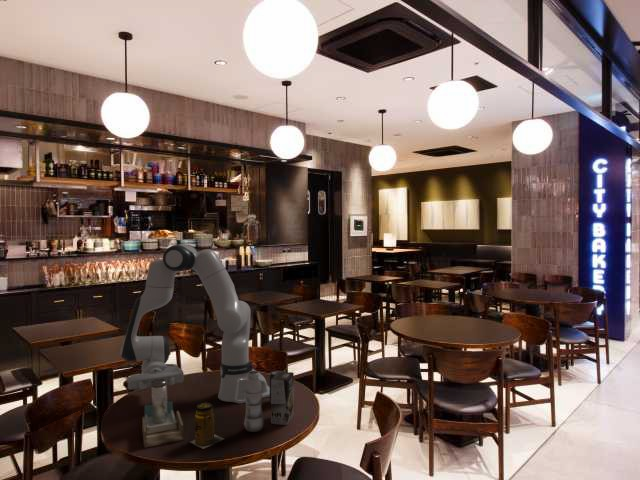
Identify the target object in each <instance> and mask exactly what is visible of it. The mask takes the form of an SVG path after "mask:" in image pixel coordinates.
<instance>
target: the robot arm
mask: <svg viewBox="0 0 640 480" xmlns="http://www.w3.org/2000/svg"><path fill="white" fill-rule="evenodd" d="M149 264H150V265H149V266H148V271H147V275H146V280H145V287H144V288H145V289H144V291H143V293H142V294H141V296H140V297H137V298H136V300H135V301H134V304H133V307H132V311H131V314H130V317H129V321H128V325H127V328H126V332H125V336H124V338H123V340H122V343H121V346H120V351H119V353H120V357H121V358H122V359H123V360H125V362H127V363H130V362H138V361H142V364H141V373H136V374H131V375H130V376H128V377H127V378H126V379H125V380H126V383H127V389H128V390H138V389H141V390H142V391H143V390H144V391H145V390H147V388H152V387H151V382H152V381H154V380H157V379H166V380H167V385H168V386H169V387H172V386H174V384H180V383H181V384H182V383H183V382H184V381H185V375H184V374H185V373H184V371H183V369H182V368H180V367H178V364H176V363H167V362H168V361H169V358H170V343H169V340H168V339H167V337H165V336H163V335H150V336H149V335H148V336H146V335H145V336H138V335H137V334H138V330H139V326H140V323H141V319H142V318H143V317H144V315H145V314H147V313H150V312H151V311H154V310H157V309H160V308H162V307H164V306H166V305H167V304H168V303H169V302H170V301H171V300H172V298H173V295H174V289H175V278H176V274H178V272H179V273H180V272H184V271H189V270H193V271H195V272H196V274H197V275H198V278H199V279H200V281H201V283H202V285H203V287H204V289H205V291H206V294H207V295H208V297H209V299H210V302H211V306H212V308H213V311H214V314H215V317H216V320H217V322H216V323H217V325H218V328H219V329H220V330H221V331H222V332H223V333H222V340H221V362H220V367H219V369H220V371H219V372H220V377H221V378H220V385H219V391H218V395H217V398H218V399H219V400H220V401H223V402H228V403H235V404H244V403H245V404H246V400H245V393H244V386H245V384H246V382H247V381H248V380H249V379H248V372H250V371H256V368H257V364H256V363H255V362H253V361H252V360H250V358H249V351H250V348H249V344H250V343H249V342H250V333H251V331H250V330H251V329H250V328H251V314H252V313H251V312H252V311H251V307H250V305H249V304H248V302H245V301H243V300H239V297H238V294H237V292H236V288H235V284H234V283H233V280H232V279H231V277H230V274H229V272H228V270H227V269H226V267H225V265H224V263H223V261H222V260H221V258H220V257H219V256H218V255H217V253H216V252H215V251H214V250H213V249H209V248H207V249H206V248H205V249H203V250H200V251H199V250H198V249H197V248H196V247H195V246H193V245H192V244H184V243H180V244H178V243H177V244H173V245H171V246H169V247H168V248H167V249H166V250H165V251H164V252H163V256H162V258H158V259H155V260H152V261H151V262H150V263H149ZM258 379H259V381H260V382H261V384H262V386H263V392H262V399H263V398H264V399H265V398H267V397H270V385H268V383H267V380H266V377H264V375H262V374H261V373H260V372H259V378H258Z"/></svg>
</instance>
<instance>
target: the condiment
mask: <svg viewBox="0 0 640 480" xmlns="http://www.w3.org/2000/svg"><path fill="white" fill-rule="evenodd" d="M195 407H196V408H195V415H194V440H192V441H190V443H191V444H193V445H194V446H196V447H198V448H201V449H202V450H203V449H206V448H208V447H211V446H213V445H215V444H216V443H219V442H221V441H223V440H225V438H223V437H221V436H219V435H217V434H215V413H214V409H213V407H214V406H213V404H212V403H209V402H202V403H200V404H197V406H195Z"/></svg>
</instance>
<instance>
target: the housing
mask: <svg viewBox="0 0 640 480" xmlns="http://www.w3.org/2000/svg"><path fill="white" fill-rule="evenodd" d="M176 422H177V429H172V430H166V431H161V432H155V433H150V434H147V432H146V425H145V416H142V417H141V427H142V429H141V432H142V439H143V447H144V448H149V447H154V446H155V447H156V446H161V445H164V444H169V443H170V444H171V443H175V442H180V441H184V440H185V439H184V423H183V419H182V416H181V413H180V410H177V411H176ZM144 448H143V449H144Z"/></svg>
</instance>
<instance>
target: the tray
mask: <svg viewBox="0 0 640 480" xmlns="http://www.w3.org/2000/svg"><path fill="white" fill-rule="evenodd" d="M173 404H174V402H173V401H167V411H168V421H167V422H165V423H162V424H154V423H153V416H152V404H148V405H144V418H145V425H146V432H147V434H150V433H155V432H161V431H166V430H172V429H177V418H176V416H175V415H176V414H175V412H174V408H173V407H174V405H173Z"/></svg>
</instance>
